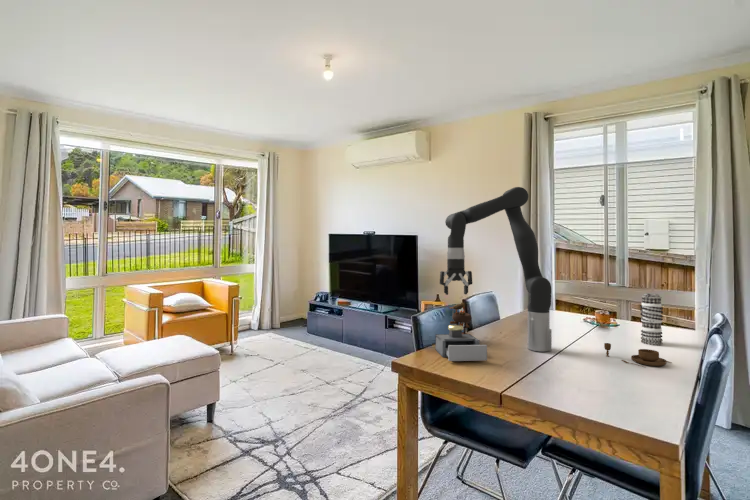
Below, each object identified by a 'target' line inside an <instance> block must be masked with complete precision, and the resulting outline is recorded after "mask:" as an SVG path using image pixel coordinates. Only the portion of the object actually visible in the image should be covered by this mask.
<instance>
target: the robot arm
mask: <svg viewBox="0 0 750 500" xmlns="http://www.w3.org/2000/svg"><path fill="white" fill-rule="evenodd" d="M528 200H529V192H528V190H526V189H525V188H524V187H523V186H515V187H513V188H510V189H508V190H505V192H503V193H502V195H500V196H497V197H495V198H493V199H489V200H487V201H484V202H480V203H478V204H475V205H472V206H470V207H467V208H466V209H463V210H461V211H457V212H455V213H451V214H449V215H448V216H447V217H446V219H445V226H446V227H447V228H448V229H450V234H449V235H448V237H447V251H446V254H447V255H446V256H447V257H446V258H447V259H446V261H447V263H446V265H447V269H446V271H443V270H442V271H439V273H440V274H439V285H441V286H443V293H444V294H445V295H446V296H448V295H449V286H448V285H450V283H452V282H456V281H457V282H461V283H462V284H463V294H464V295H468V293H469V286H470V285H473V273H472V270H467V271H466V270H465V267H466V266H465V257H466V256H465V249H464V247H465V245H464V243H465V240H464V239H465V235H466V233H465V232H466V227H467V225H469V224H472V223H476V222H479V221H481V220H484V219H486V218H489V217H490V216H493V215H495V214H497V213H499V212H501V211H505V213H506V216H507V220H508V222H509V225H510V230H511V233H512V235H513V240H514V244H515V249H516V251H517V255H518V257H519V261H520V264H521V266H522V267H521V268H522V271H523V276H524V277H523V278H524V282H525V283H524V284H525V288H526V291H527V292H528V294H529V302H528V305H527V349H528V350H530V351H533V352H534V351H535V352H550V351H552V348H553V347H552V340H553V339H552V337H553V336H552V329H551V328H550V326H551V325H550V323H551V322H550V311H551V310H550V308H551V306H552V284H551V282H550V280H549V279H547V278H546V277H545V276H544V277H543V274H542V271H541V268H540V266H539V246H538V243H537V238H536V234H535V232H534V230H533V229H532V228H531V225H529V223H528V222H527V221H526V219H525V218H524V215H523V212H522V208H521V207H523V206H524V205H525V204H526V203H528ZM465 275H466V276H467V279H466V278H465ZM446 276H447V278H446V279H445V277H446Z"/></svg>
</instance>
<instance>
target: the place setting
mask: <svg viewBox="0 0 750 500" xmlns="http://www.w3.org/2000/svg"><path fill="white" fill-rule="evenodd" d="M603 344H604V345H603V346H604V347H603V348H604V349H605V350H606V353H605V354H606V355H605V357H607V358H609V357H610V351H611V348H612V344H611V342H610V343H609V342H604V343H603ZM637 353H638V354H633V355H631V356H630V358H631V360H632V361H633V362H635V363H633V362H628V361H626V360H624V359H620V361H622V362H623V363H625V364H632V365H635V366H638V367H643V368H645V366H648V367H662V366H665V365H666V364H667V363H671V364H673V362H671V361H668V360H667V359H664V358H663V357H662V358H661V357H660V351H658V350H655V349H648V348H647V349H646V348H640V349H639V348H638V352H637ZM639 364H640V365H639Z"/></svg>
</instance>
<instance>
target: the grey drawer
mask: <svg viewBox="0 0 750 500" xmlns="http://www.w3.org/2000/svg"><path fill="white" fill-rule="evenodd" d="M445 354H446V355H447V356H448V357H447V358H448V359H447V360H448V362H464V361H465V362H467V361H468V362H469V361H471V362H472V361H473V362H475V361H477V362H478V361H487V360H488V345H487V344H480V345H448V348H445Z"/></svg>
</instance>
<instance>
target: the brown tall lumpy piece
mask: <svg viewBox="0 0 750 500" xmlns="http://www.w3.org/2000/svg"><path fill="white" fill-rule="evenodd" d="M465 306H466V303H465V302H460V303H457V304H455V305H453V306H451V307H448V309H451V310H452V309H453V310H455V312H452V315H451V317H452V320H450V321H449V325H461V326H463V331H462V334H467V333H466V331H467V329H469V328H470V324H471V321H472V315H471V314H470V313H468V312H465V311H466V310H465ZM461 309H463V310H461Z"/></svg>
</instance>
